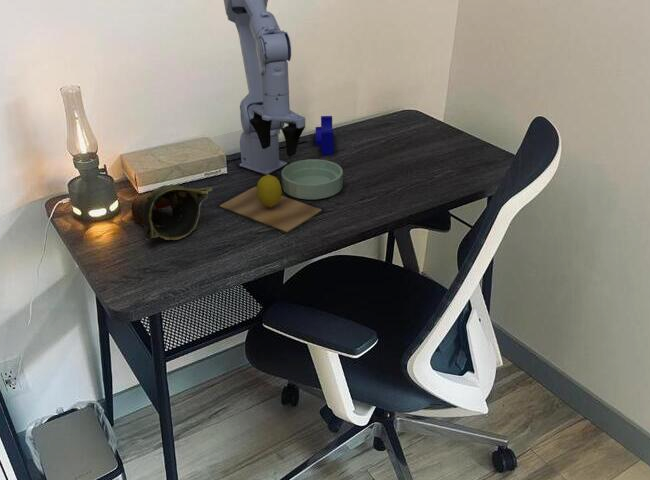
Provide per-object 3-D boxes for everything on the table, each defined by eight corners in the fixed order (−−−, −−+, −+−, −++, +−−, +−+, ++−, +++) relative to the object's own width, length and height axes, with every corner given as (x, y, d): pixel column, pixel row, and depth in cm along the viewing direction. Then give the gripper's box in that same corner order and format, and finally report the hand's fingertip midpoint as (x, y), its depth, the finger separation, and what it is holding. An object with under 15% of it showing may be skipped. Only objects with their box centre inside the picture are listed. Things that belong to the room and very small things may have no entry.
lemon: (279, 214, 146) (277, 180, 142) (255, 212, 147) (252, 179, 143) (284, 202, 151) (283, 169, 146) (261, 201, 152) (258, 168, 147)
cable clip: (315, 137, 183) (315, 116, 180) (332, 137, 183) (332, 115, 180) (315, 155, 173) (315, 132, 170) (333, 154, 173) (333, 132, 170)
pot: (160, 163, 149) (199, 163, 135) (188, 204, 155) (228, 207, 141) (101, 211, 143) (136, 216, 129) (133, 252, 148) (169, 260, 134)
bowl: (269, 190, 157) (269, 174, 155) (307, 169, 166) (307, 154, 164) (317, 206, 149) (317, 190, 147) (354, 184, 158) (354, 168, 156)
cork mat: (219, 206, 151) (219, 205, 151) (255, 187, 158) (255, 186, 158) (287, 232, 140) (287, 231, 140) (322, 210, 148) (322, 209, 147)
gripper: (238, 90, 145) (243, 149, 152) (289, 103, 137) (291, 165, 145) (260, 82, 149) (263, 139, 157) (311, 94, 141) (312, 154, 149)
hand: (278, 151), depth 151 cm, fingers open, 7 cm apart
